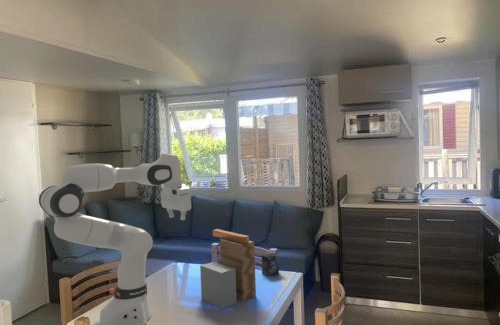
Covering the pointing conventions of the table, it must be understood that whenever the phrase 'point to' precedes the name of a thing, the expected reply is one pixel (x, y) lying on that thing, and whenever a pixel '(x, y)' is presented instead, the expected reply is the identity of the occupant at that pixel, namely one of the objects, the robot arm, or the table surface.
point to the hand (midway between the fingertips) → (177, 218)
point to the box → (270, 264)
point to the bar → (231, 236)
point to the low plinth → (218, 284)
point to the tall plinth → (240, 266)
